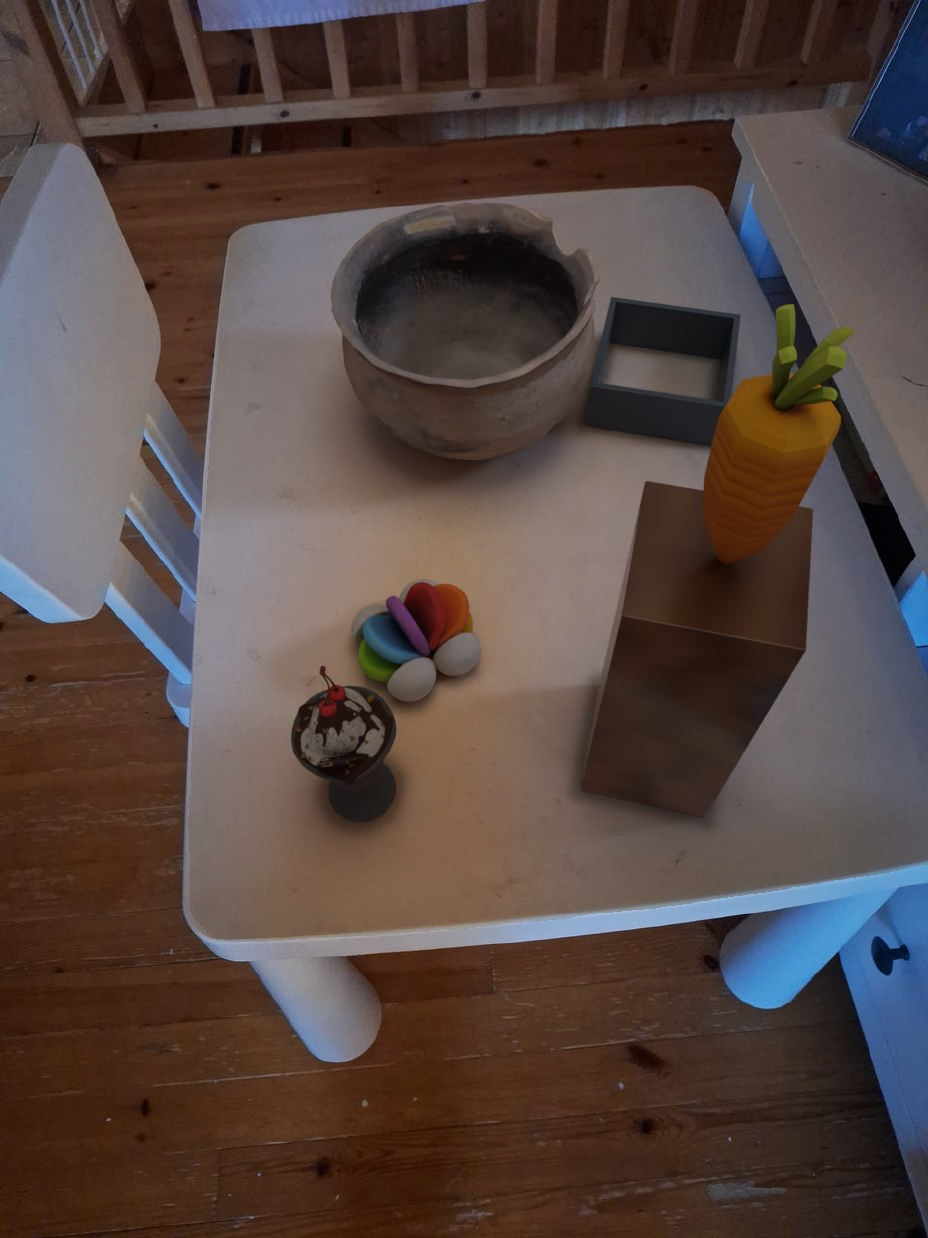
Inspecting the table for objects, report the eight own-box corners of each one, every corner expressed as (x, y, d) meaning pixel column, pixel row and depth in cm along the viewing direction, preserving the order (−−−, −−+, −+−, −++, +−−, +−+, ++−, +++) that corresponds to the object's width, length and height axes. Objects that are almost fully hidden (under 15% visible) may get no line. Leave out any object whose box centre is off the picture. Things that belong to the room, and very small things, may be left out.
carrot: (678, 517, 48) (747, 279, 35) (773, 527, 48) (878, 290, 35) (675, 594, 46) (748, 367, 33) (775, 606, 45) (890, 381, 32)
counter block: (716, 706, 69) (813, 508, 48) (705, 817, 64) (806, 650, 44) (599, 682, 70) (645, 479, 49) (579, 790, 65) (621, 615, 45)
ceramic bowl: (624, 466, 81) (649, 334, 69) (395, 535, 78) (376, 410, 65) (531, 312, 92) (537, 174, 80) (327, 367, 89) (299, 231, 76)
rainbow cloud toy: (497, 662, 71) (498, 613, 65) (391, 723, 69) (381, 678, 62) (441, 587, 75) (437, 534, 69) (339, 642, 72) (324, 592, 66)
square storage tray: (728, 355, 88) (741, 314, 84) (717, 446, 82) (729, 407, 78) (605, 337, 90) (611, 296, 86) (585, 425, 84) (590, 385, 80)
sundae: (354, 730, 68) (323, 628, 55) (425, 778, 66) (410, 683, 53) (297, 799, 65) (251, 708, 53) (369, 851, 63) (339, 769, 51)
